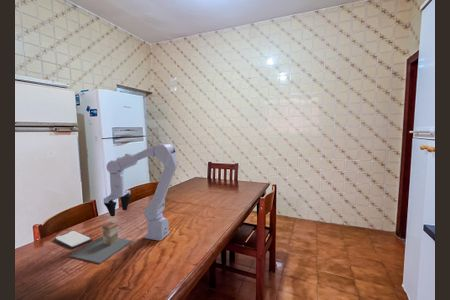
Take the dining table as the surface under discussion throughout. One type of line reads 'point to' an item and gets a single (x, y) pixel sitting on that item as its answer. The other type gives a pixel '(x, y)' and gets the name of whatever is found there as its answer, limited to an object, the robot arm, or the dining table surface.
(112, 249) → the rubber mat
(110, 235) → the maple block
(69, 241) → the phone case
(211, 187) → the dining table surface
